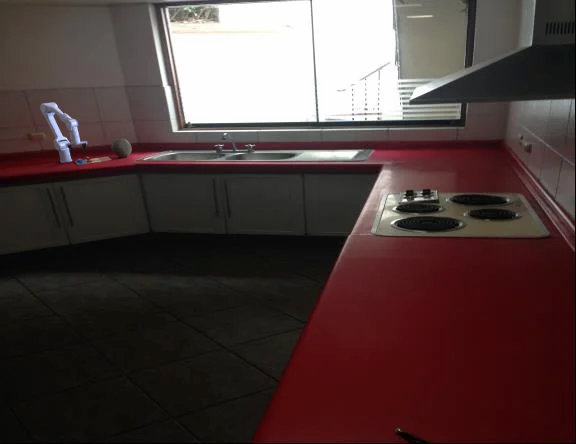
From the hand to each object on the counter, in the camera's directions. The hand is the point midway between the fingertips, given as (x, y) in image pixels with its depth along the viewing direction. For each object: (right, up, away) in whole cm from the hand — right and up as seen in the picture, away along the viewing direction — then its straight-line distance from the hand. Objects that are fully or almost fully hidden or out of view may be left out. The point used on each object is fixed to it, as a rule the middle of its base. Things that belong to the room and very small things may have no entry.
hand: (78, 154), depth 311 cm
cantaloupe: (+28, -1, +13) cm, 31 cm away
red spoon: (+5, -4, +6) cm, 8 cm away
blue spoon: (-1, -5, +3) cm, 6 cm away
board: (+7, -4, +7) cm, 11 cm away
